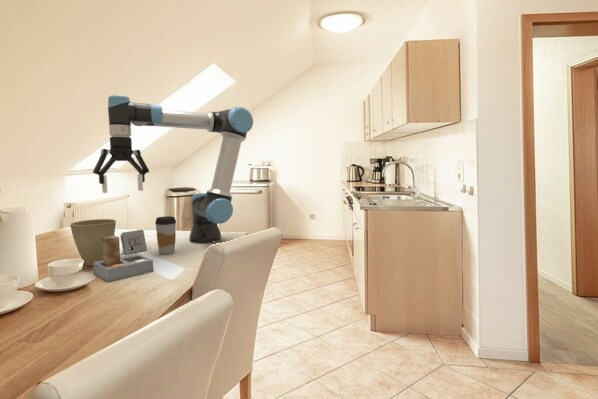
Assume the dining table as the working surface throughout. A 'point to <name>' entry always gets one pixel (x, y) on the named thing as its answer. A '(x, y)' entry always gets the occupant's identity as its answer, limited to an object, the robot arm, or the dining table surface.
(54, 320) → the dining table surface
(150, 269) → the grey compartment tray
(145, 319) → the dining table surface
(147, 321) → the dining table surface
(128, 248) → the electrical switch
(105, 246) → the plug
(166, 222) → the coffee cup
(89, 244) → the plant pot
